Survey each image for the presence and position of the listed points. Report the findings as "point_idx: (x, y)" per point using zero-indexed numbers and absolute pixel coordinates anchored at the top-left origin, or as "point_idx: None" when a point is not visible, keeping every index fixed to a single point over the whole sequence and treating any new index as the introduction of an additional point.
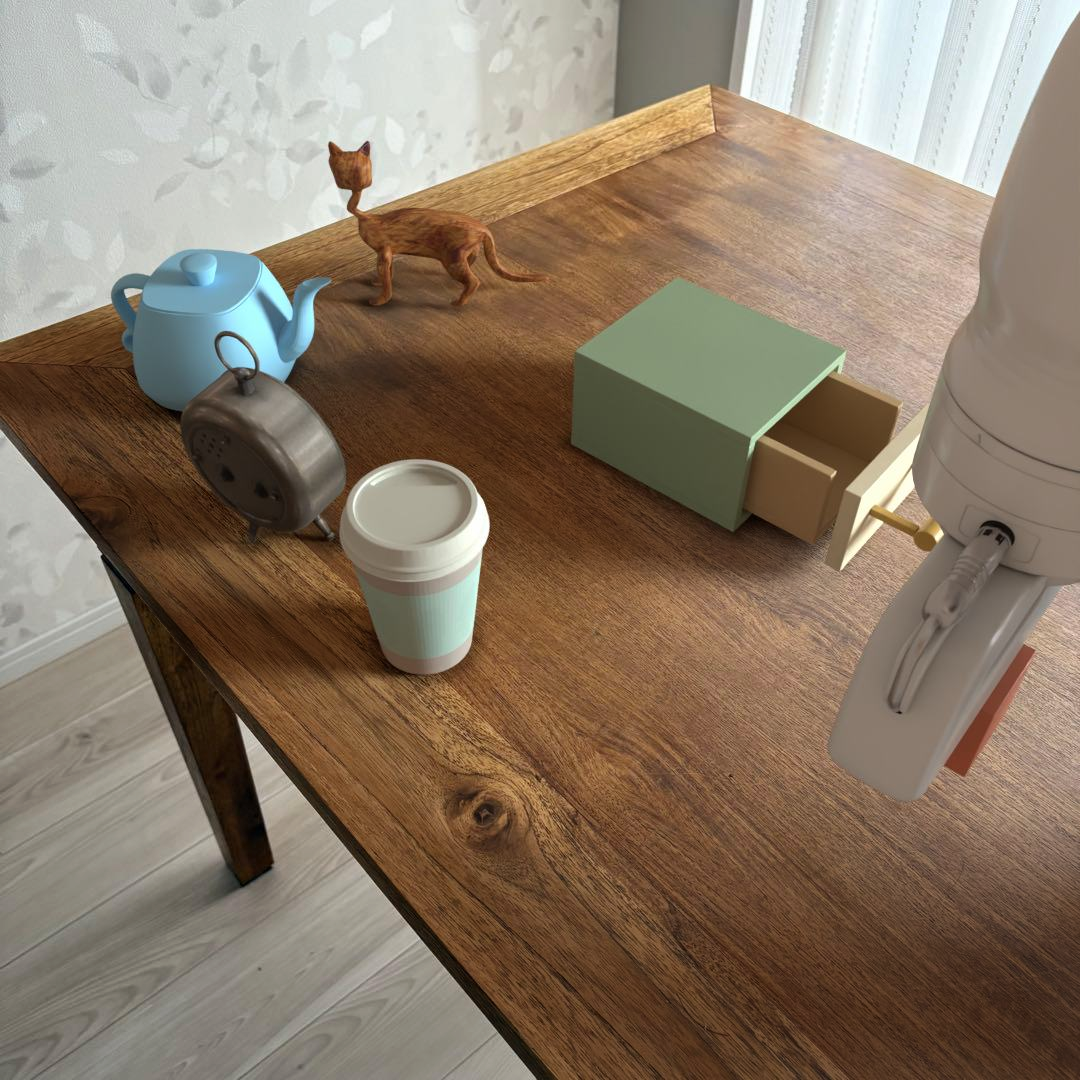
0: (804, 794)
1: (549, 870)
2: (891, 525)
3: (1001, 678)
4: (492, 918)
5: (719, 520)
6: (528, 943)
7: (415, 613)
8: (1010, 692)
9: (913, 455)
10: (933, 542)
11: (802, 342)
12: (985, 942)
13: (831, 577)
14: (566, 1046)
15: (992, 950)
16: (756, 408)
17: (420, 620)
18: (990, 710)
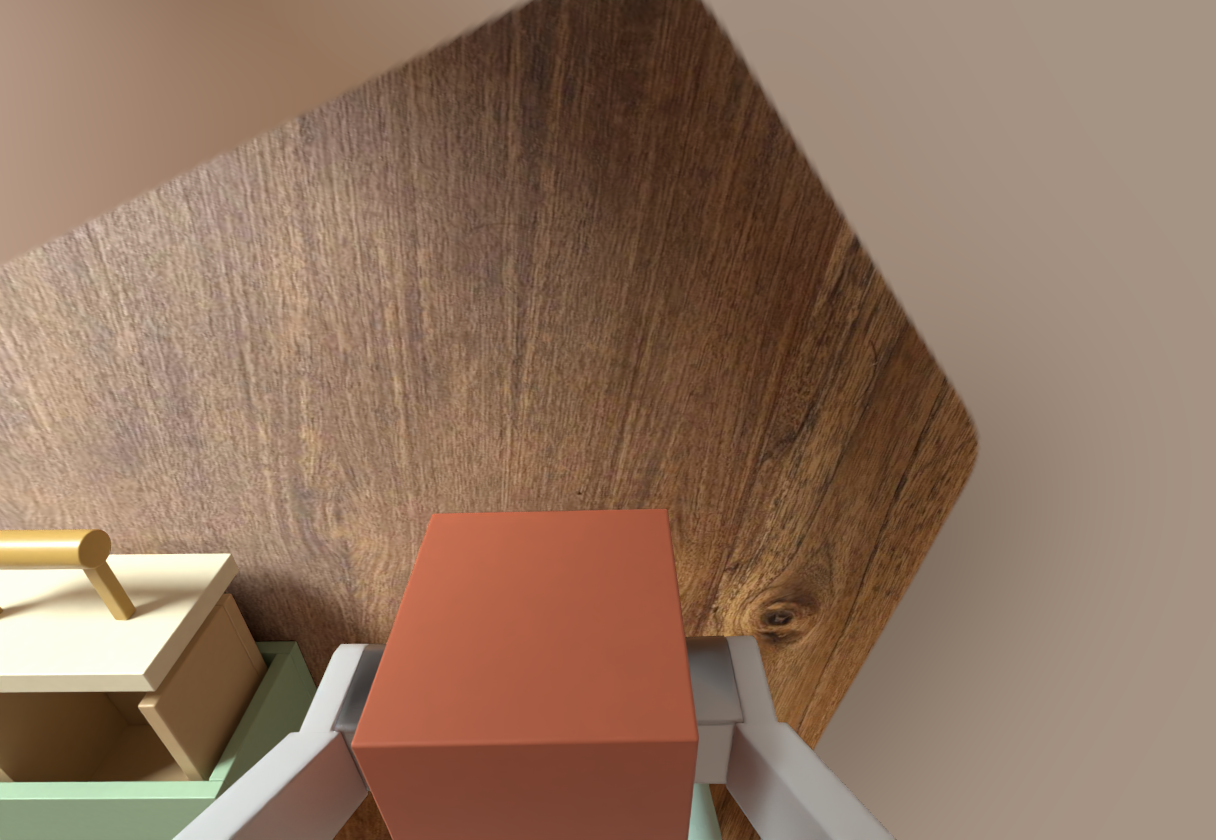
0: (539, 425)
1: (799, 554)
2: (120, 586)
3: (540, 766)
4: (874, 561)
5: (299, 660)
6: (880, 528)
7: (711, 829)
8: (561, 729)
9: None
10: (85, 544)
11: (3, 830)
12: (561, 145)
13: (242, 546)
14: (962, 451)
15: (565, 131)
16: (165, 813)
17: (705, 813)
18: (679, 750)
